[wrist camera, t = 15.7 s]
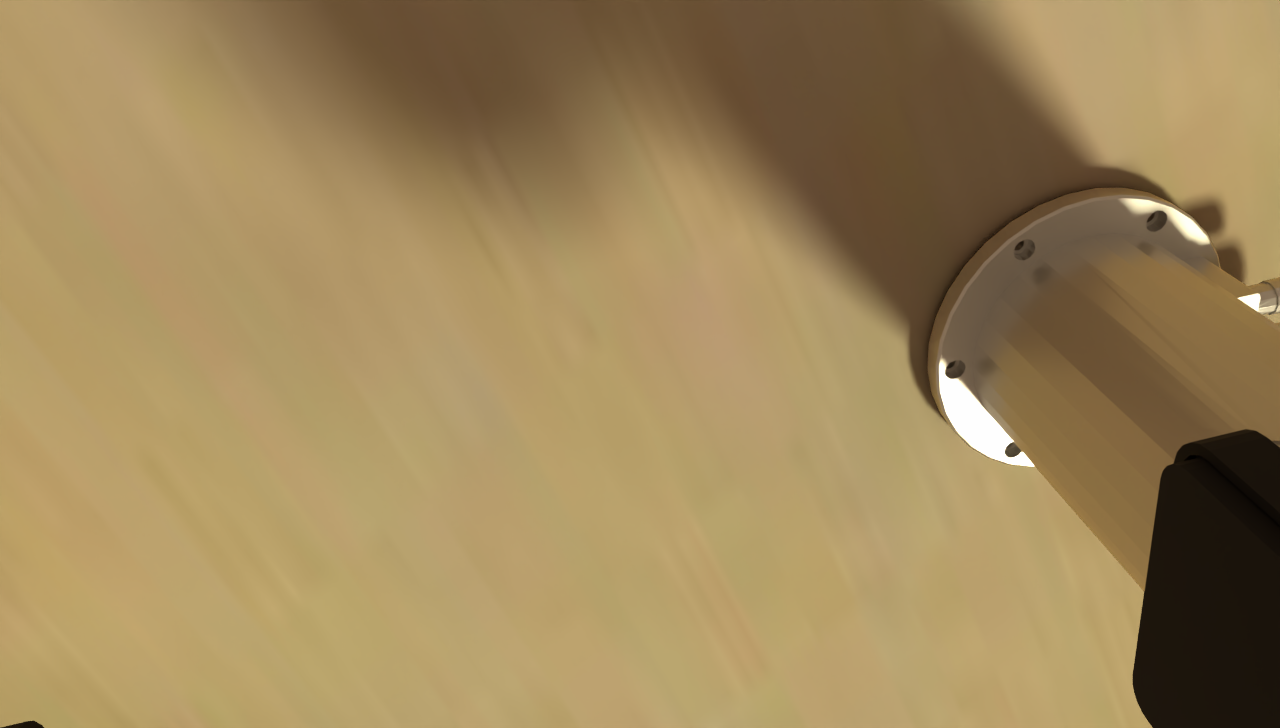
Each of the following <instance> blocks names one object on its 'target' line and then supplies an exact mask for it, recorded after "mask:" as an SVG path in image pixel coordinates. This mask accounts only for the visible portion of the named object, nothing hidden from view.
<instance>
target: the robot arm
mask: <svg viewBox="0 0 1280 728" xmlns="http://www.w3.org/2000/svg"><path fill="white" fill-rule="evenodd" d="M1276 313H1280V277H1279V278H1274V279H1270V280H1266V281H1263V282H1261V283H1259V284H1255V285H1251V286H1247V285H1245V284H1244V283H1242V282H1240V281H1239V280H1237V279H1236V278H1234V277H1233V276H1231V275H1230V274H1228V273H1227V272H1225V271H1224V270H1222V269H1221V267H1220V262H1219V258H1218V254H1217V252H1216V250H1215V248H1214V246H1213V244H1212V242H1211V240H1210V238H1209V236H1208V234H1207V233H1206V232H1205V230H1204V229H1203V228H1202V227H1201V226H1200V225H1199V224H1198V223H1197V222H1196V221H1195V219H1194V218H1193V217H1192V216H1190V215H1189V214H1187V213H1186V212H1184V211H1183V210H1181V209H1180V208H1178V207H1177V206H1175V205H1174V204H1172V203H1171V202H1168V201H1166V200H1164V199H1162V198H1160V197H1158V196H1155V195H1153V194H1151V193H1149V192H1144V191H1139V190H1134V189H1129V188H1094V189H1089V190H1085V191H1080V192H1075V193H1070V194H1066V195H1064V196H1061V197H1059V198H1056V199H1054V200H1051V201H1049V202H1046V203H1044V204H1041V205H1039V206H1037V207H1035V208H1034V209H1032V210H1030V211H1029V212H1027V213H1025V214H1023V215H1022V216H1020V217H1018V218H1017V219H1015V220H1013V221H1012V222H1010V223H1009V224H1008V225H1007V226H1005V227H1004V228H1003V229H1002V230H1000V231H999V232H998V233H997V234H995V235H994V236H993V237H992V238H991V239H989V240H988V241H987V242H986V243H985V244H984V245H983V246H982V247H981V248H980V249H979V250H978V252H977V253H976V254H975V255H974V256H973V257H972V258H971V259H970V260H969V261H968V263H967V264H966V265H965V266H964V267H963V269H962V270H961V272H960V273H959V275H958V276H957V278H956V279H955V281H954V282H953V284H952V285H951V287H950V288H949V290H948V291H947V294H946V296H945V298H944V300H943V302H942V305H941V307H940V309H939V311H938V313H937V316H936V318H935V322H934V326H933V330H932V333H931V337H930V341H929V349H928V367H927V370H928V376H929V382H930V388H931V393H932V395H933V398H934V400H935V402H936V405H937V407H938V409H939V412H940V413H941V415H942V416H943V417H944V419H945V420H946V421H947V423H948V424H949V425H950V427H951V428H952V429H953V431H954V432H955V433H956V434H957V435H958V436H959V437H960V438H961V439H962V440H963V441H964V442H965V443H966V444H967V445H968V446H969V447H971V448H972V449H974V450H976V451H977V452H979V453H981V454H982V455H984V456H986V457H987V458H990V459H993V460H996V461H999V462H1002V463H1005V464H1010V465H1019V466H1029V467H1036V468H1037V469H1038V471H1039V472H1040V473H1041V474H1042V475H1043V476H1044V477H1045V479H1046V480H1047V481H1048V482H1049V483H1050V484H1051V485H1052V487H1053V488H1054V489H1055V490H1056V491H1057V492H1058V493H1059V495H1060V496H1061V497H1062V498H1063V499H1064V500H1065V501H1066V503H1067V504H1068V505H1069V506H1070V507H1071V508H1072V509H1073V511H1074V512H1075V513H1076V514H1077V515H1078V516H1079V517H1080V519H1081V520H1082V521H1083V522H1084V523H1085V524H1086V526H1087V527H1088V528H1089V529H1090V530H1091V531H1092V532H1093V534H1094V535H1095V536H1096V537H1097V538H1098V539H1099V540H1100V542H1101V543H1102V544H1103V545H1104V546H1105V547H1106V548H1107V550H1108V551H1109V552H1110V553H1111V554H1112V555H1113V556H1114V558H1115V559H1116V560H1117V561H1118V562H1119V563H1120V564H1121V566H1122V567H1123V568H1124V569H1125V570H1126V571H1127V572H1128V574H1129V575H1130V576H1131V577H1132V578H1133V579H1134V580H1135V582H1136V583H1137V584H1138V585H1139V586H1140V587H1141V588H1142V590H1143V591H1144V599H1143V606H1142V613H1141V620H1140V627H1139V634H1138V641H1137V649H1136V656H1135V663H1134V670H1133V688H1134V693H1135V696H1136V699H1137V702H1138V704H1139V706H1140V708H1141V710H1142V713H1143V714H1144V716H1145V717H1146V719H1147V720H1148V722H1149V723H1150V724H1151V725H1152V727H1153V728H1280V323H1274V322H1272V321H1271V320H1269V319H1268V318H1266V317H1265V316H1263V315H1264V314H1269V315H1271V314H1276ZM2 728H44V727H43V726H42V725H41V724H39V723H37V722H35V721H28V722H23V723H18V724H14V725H10V726H6V727H2Z"/></svg>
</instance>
